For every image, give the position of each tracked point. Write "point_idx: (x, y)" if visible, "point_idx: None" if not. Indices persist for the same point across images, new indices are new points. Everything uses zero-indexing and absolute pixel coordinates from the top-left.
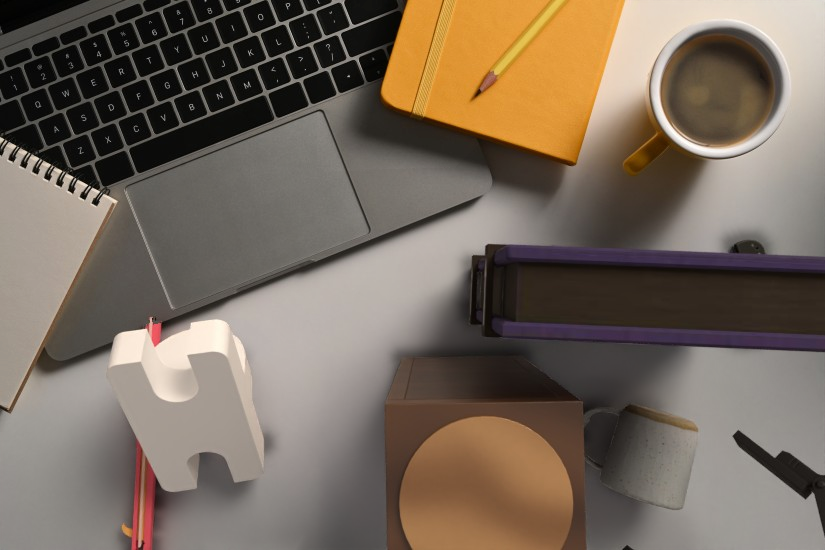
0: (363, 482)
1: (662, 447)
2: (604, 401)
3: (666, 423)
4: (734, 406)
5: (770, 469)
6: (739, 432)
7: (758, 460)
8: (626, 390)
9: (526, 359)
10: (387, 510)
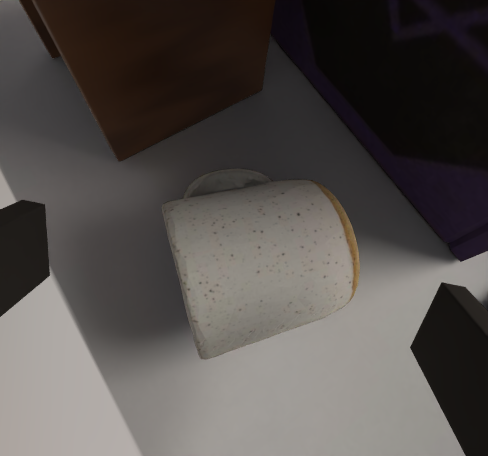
0: (20, 19)
1: (291, 215)
2: None
3: (334, 205)
4: (401, 380)
5: (479, 414)
6: (465, 289)
7: (452, 380)
8: None
9: (267, 49)
10: None
